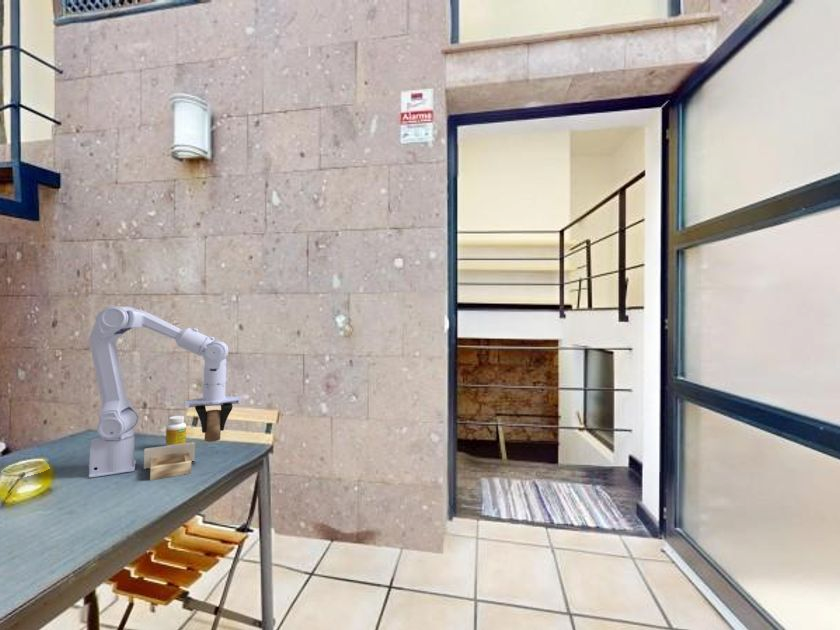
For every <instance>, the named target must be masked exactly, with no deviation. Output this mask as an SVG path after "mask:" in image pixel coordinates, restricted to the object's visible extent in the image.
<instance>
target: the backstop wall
mask: <svg viewBox="0 0 840 630" xmlns="http://www.w3.org/2000/svg"><path fill="white" fill-rule="evenodd" d="M195 450H196V443H195V442H194V441H192V442H186V443H184V444H176V445H168V446H166V445H163V446H155V447H154V446H152V447H145V448H144V452H143V470H146V468H148V469H150V465H151V457H156V456H163V455H170V454H177V453H184V452H189V455H190V459H191V463H193V462H192V461H194V462H195V453H196V451H195Z"/></svg>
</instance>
